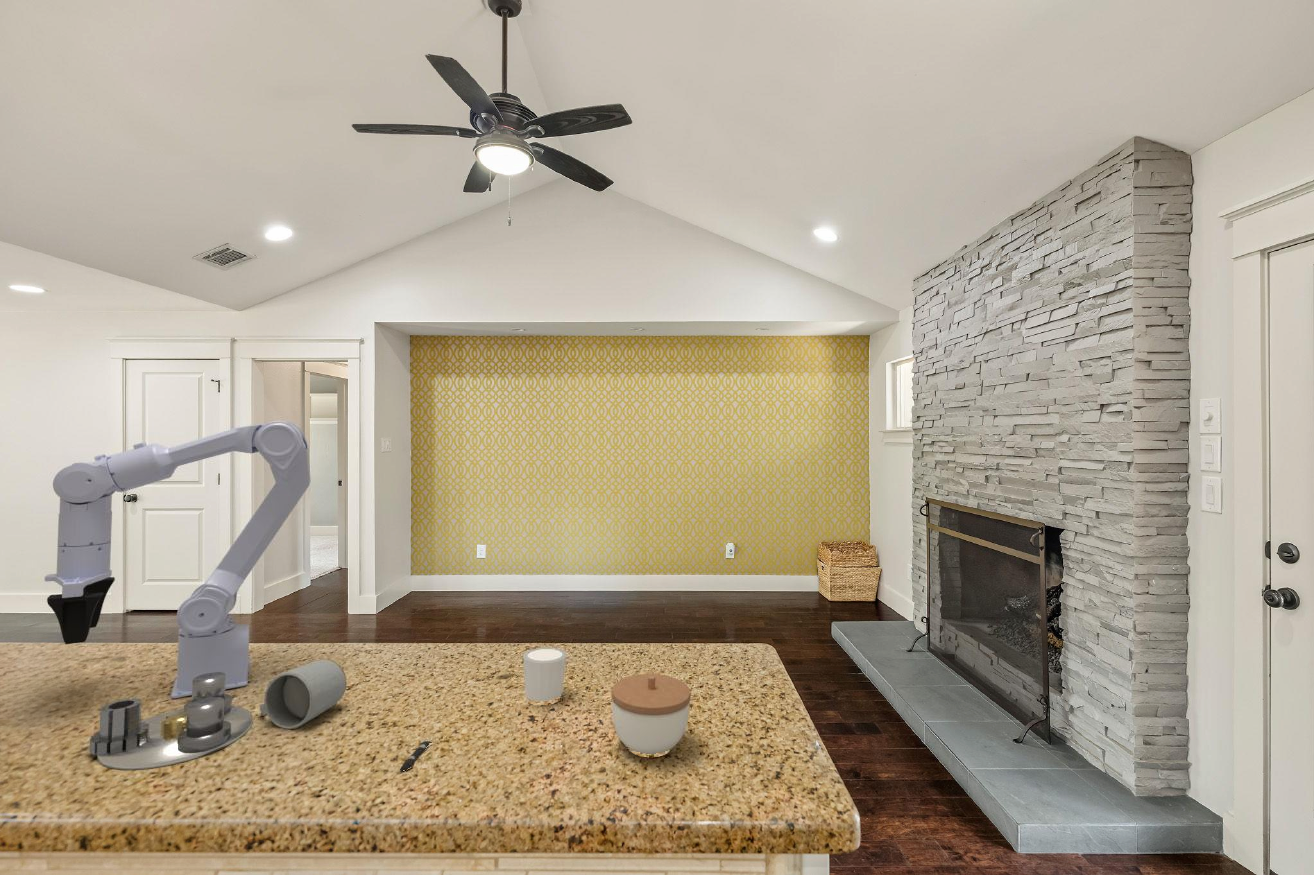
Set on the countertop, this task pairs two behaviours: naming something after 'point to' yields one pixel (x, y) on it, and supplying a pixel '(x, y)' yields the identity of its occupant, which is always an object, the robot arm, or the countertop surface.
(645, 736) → the lidded jar
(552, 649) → the white short cylinder
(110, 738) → the planet gear
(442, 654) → the countertop surface
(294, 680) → the ceramic mug
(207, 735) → the carrier
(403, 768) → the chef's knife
